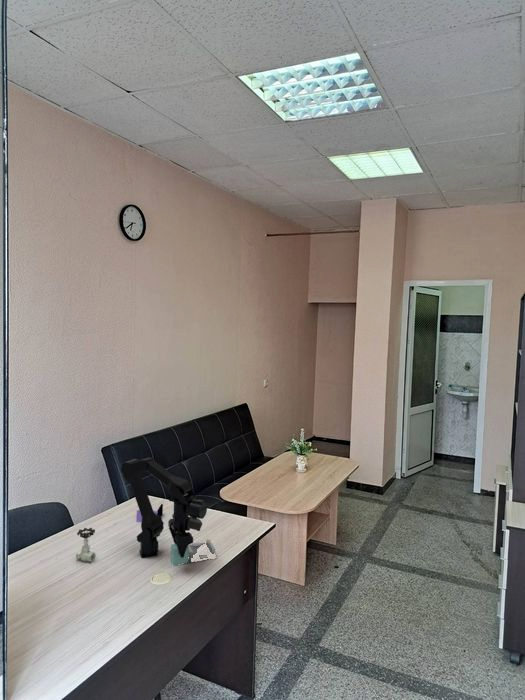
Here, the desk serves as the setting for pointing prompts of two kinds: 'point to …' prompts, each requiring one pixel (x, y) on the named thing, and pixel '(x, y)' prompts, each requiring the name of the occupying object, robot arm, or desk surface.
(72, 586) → the desk surface
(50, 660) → the desk surface
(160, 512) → the toy room diorama
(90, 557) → the valve
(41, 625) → the desk surface
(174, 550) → the block
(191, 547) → the plate
